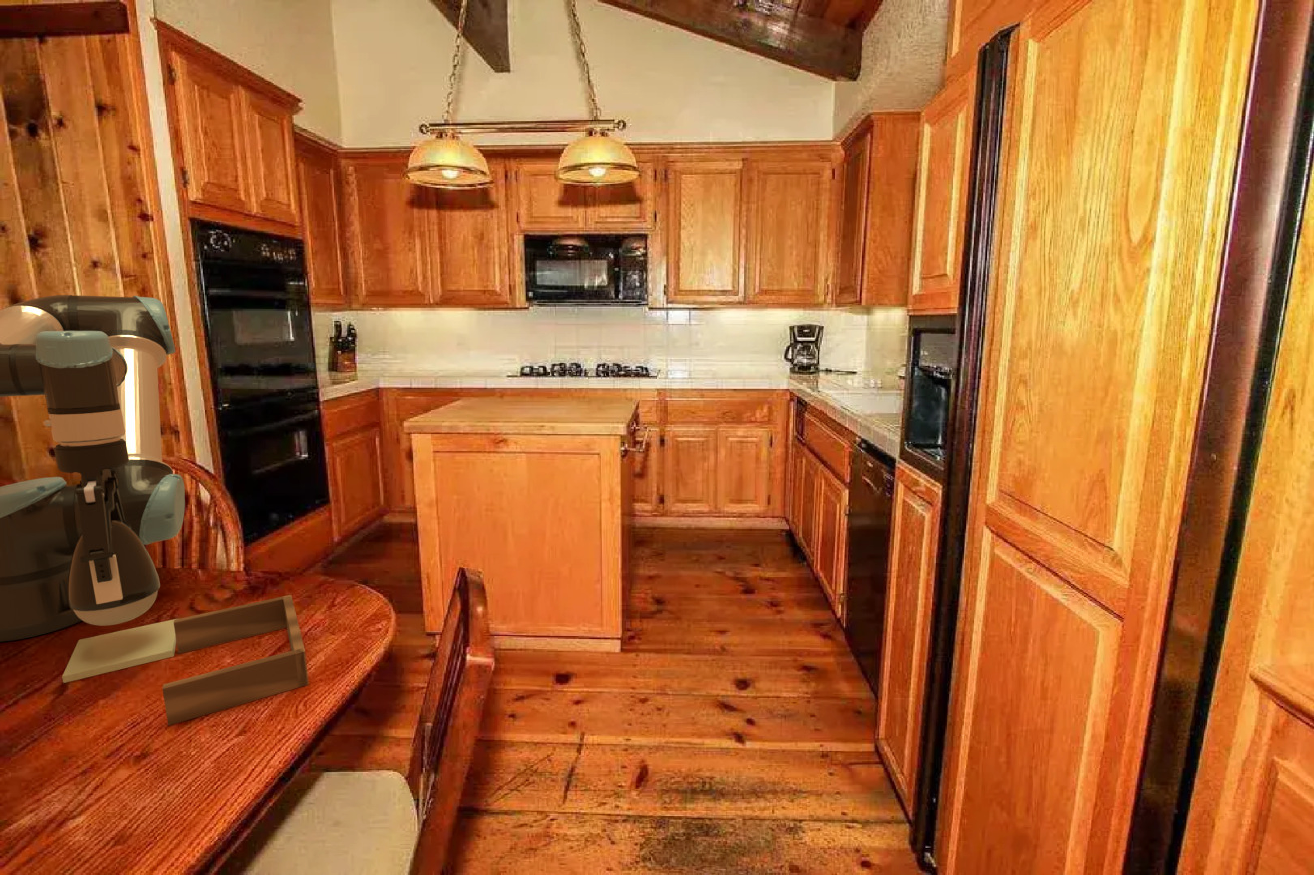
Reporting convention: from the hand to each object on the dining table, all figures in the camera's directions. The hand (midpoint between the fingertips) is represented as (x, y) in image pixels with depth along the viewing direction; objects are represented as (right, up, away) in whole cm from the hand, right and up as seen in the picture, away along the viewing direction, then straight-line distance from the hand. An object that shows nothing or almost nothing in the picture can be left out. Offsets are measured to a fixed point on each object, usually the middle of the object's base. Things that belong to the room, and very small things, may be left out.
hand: (115, 587), depth 89 cm
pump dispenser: (0, -5, +1) cm, 5 cm away
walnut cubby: (+20, -11, -2) cm, 23 cm away
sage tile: (0, -10, +2) cm, 10 cm away
